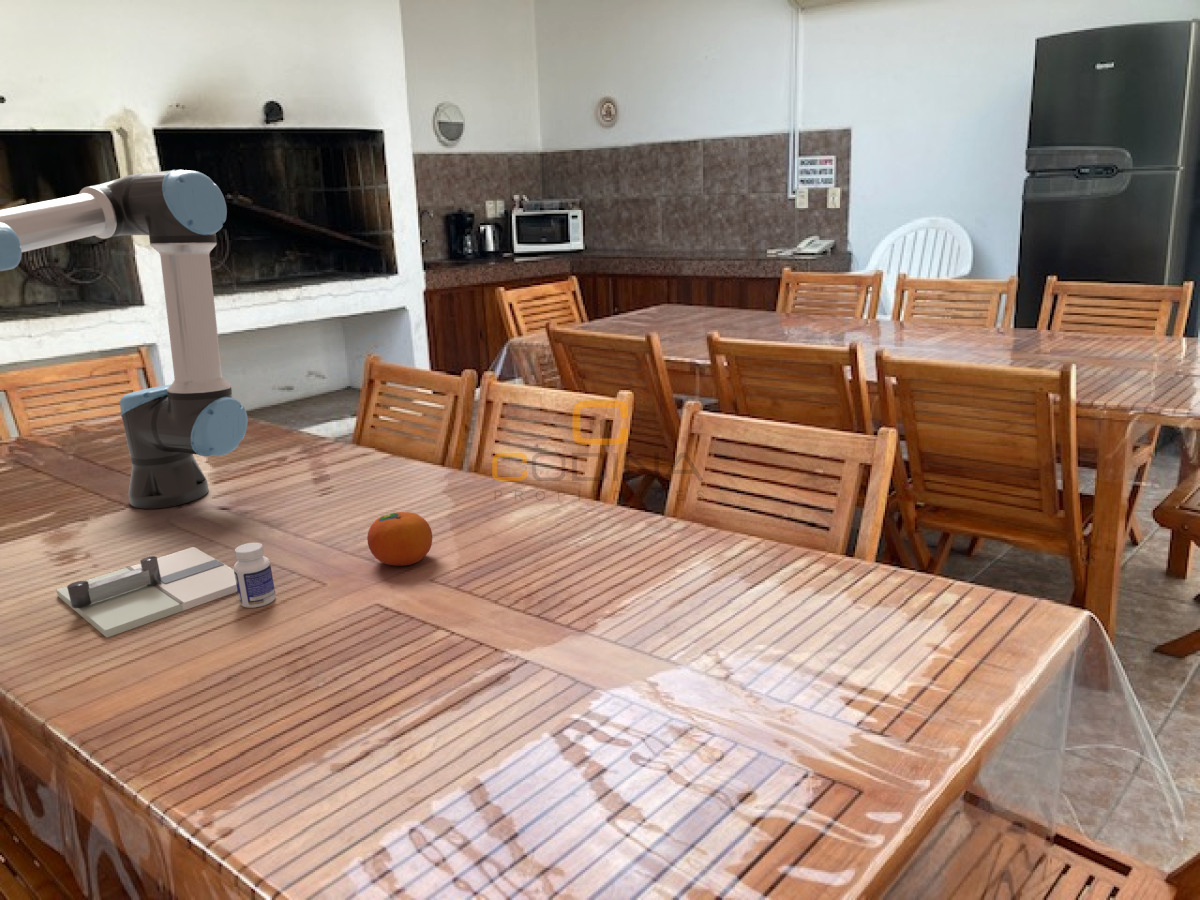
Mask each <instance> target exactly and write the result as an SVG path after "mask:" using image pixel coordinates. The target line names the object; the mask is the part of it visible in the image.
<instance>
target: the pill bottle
mask: <svg viewBox="0 0 1200 900" xmlns="http://www.w3.org/2000/svg"><path fill="white" fill-rule="evenodd" d="M264 553H265V552H264V547H263V544H262V543H260V542H248V543H243V544H241V545H239V546H237V547H236V548H235V549H234V554H235V558H236V562H235V563H234V564H233V569H234V574H235V579H236V585H237V590H238V591H237V596H238V601H239V605H241V606H242V607H244V608H248V609H249V608H252V609H254V608H259V607H264V606H266V605H268V604H271V603H272V602H273V601H274V600H275V599H276V596H277V595H276V588H275V582H274V579H273V571H272V565H271V562H270V559H269V558H268V557H267V556H264V555H265V554H264Z"/></svg>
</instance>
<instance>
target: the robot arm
mask: <svg viewBox="0 0 1200 900" xmlns="http://www.w3.org/2000/svg"><path fill="white" fill-rule="evenodd" d="M227 210H228V208H227V203H226V200H225V197H224V194H223V193H222V191H221V189H220V187H219V186H218V185H217V183H215V182H214V181H213V180H212V178H210V176H207V175H206V174H204V173H202V172H200V171H198V170H197V171H196V170H187V169H185V170H184V169H172V170H165V171H164V170H162V171H155V172H154V171H153V172H140V173H139V172H138V173H134V174H129V175H126V176H123V177H120V178H117V179H116V178H115V179H113V180H110V181H106V182H102V183H99V184H94V185H90V186H85V187H83V188H81V190H80V191H79V193H78V194H74V195H69V196H65V197H64V196H63V197H59V198H53V199H49V200H43V201H39V202H38V201H37V202H33V203H29V204H24V205H23V204H22V205H18V206H13V207H12V206H11V207H9V208H1V209H0V272H4V271H9V270H13V269H15V268H17V267H18V266H19V264H20V263H21V260H22V254H23V253H24V252H29V251H34V250H38V249H41V248H46V247H51V246H54V245H59V244H63V243H67V242H72V241H77V240H80V239H85V238H89V237H93V236H95V237H96V238H99V239H109V238H114V237H120V236H148V237H149V245H150V246H151V247H152V248H153V249H154V250H155V251H156V252H157V253H158V254H159V257H160V264H161V273H162V284H163V291H164V298H165V308H166V315H167V324H168V333H169V341H170V350H171V359H172V368H173V377H174V380H173V382H172V383H170V384H165V385H159V386H154V387H149V388H145V389H140V390H136V391H134V392H133V391H132V392H129V393H126V394H124V395H123V396H122V397H121V398H120V400H119V406H120V417H121V420H122V423H123V429H124V433H125V438H126V442H127V443H126V444H127V447H128V452H129V457H130V462H131V473H130V479H129V486H128V493H127V494H128V499H129V504H130V506H132V507H134V508H137V509H144V510H145V509H147V510H148V509H149V510H150V509H151V510H152V509H163V508H170V507H176V506H180V505H183V504H188V503H191V502H194V501H196V500H198V499H201V498H202V497H204V496H206V494H208V493H209V490H210V489H209V484H208V479H207V477H206V476H205V474H204V472H203V471H202V469H201V467H200V466H199V464H198V462H197V460H196V459H195V456H194V455H198V456H200V457H212V456H213V457H221V456H225V455H228V454H230V453H231V452H233V451H234V450H236V449H237V448H238V447H239V445H240V443H241V442H242V441H243V440H244V437H245V436H246V432H247V429H248V414H247V411H246V408H245V406H244V405H242V404H241V402H240V401H239V400H237V399H235V398H234V397H233V391H232V390H233V389H232V384H231V383H230V382H229V381H228V380H225V379H224V377H223V374H222V365H221V364H222V363H221V354H220V346H219V344H220V343H219V335H218V326H217V316H216V315H217V314H216V307H215V306H216V305H215V297H214V288H213V287H214V286H213V278H212V277H213V276H212V268H211V259H210V253H211V251H212V250H213V249H214V248H215V247H216V246H217V244H218V243H217V234H216V233H217V232H219V231H220V230H221V229H222V228H223V226H224V225H223V224H224V223H225V222H226V220H227V213H228V211H227Z"/></svg>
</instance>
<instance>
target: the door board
mask: <svg viewBox="0 0 1200 900" xmlns="http://www.w3.org/2000/svg"><path fill="white" fill-rule="evenodd" d="M157 561H158V566H159V571H160V575H161V580H162V581H161V583H159V584H157V585H153V586H143V587H140V588H137V589H134V590H131V591H128V592H125V593H122V594H119V595H116V596H113V597H110V598H107V599H104V600H101V601H98V602H95V603H92V604H90V605H88V606H86V607H82V608H73V607H72V606H71V601H70V597H69V593H68V588H67V586H68V585H66V586H63V587H60V588H56V594H57V597H58V598H60V600H61V601H63V603H65V604H66V605H68V606H69V607H70V608H71V609H72V610H74V611H75V612H76V613H77V614H78V615H79V616H80V617H82V618H83V619H84V620H85V621H86V622H88V623H89V624H90V625H91V626H93V628H94V629H96V630H97V632H99V633H100V634H102V635H103V636H104V637H105V638H110V637H113V636H115V635H119V634H121V633H124V632H128V631H130V630H133V629H135V628H139V627H141V626H144V625H147V624H150V623H152V622H155V621H159V620H161V619H164V618H166V617H170V616H172V615H175V614H178V613H181V612H183V611H187V610H189V609H192V608H195V607H197V606H200V605H203V604H206V603H209V602H211V601H215V600H217V599H220V598H223V597H226V596H228V595H231V594H235V593H238V590H237V585H236V579H235V574H234V568H233V567H230V566H228V565H227V564H225V563H223V562H222V561H220V560H218V559H216V558H214V557H212V556H211V555H209V554H207V553H205V552H203V551H202V550H200V549H198V548H197V547H195V546H192V547H188V548H185V549H182V550H178V551H175V552H173V553H169V554H166V555H163V556H160V557H159V556H158V557H157ZM138 568H141V562H140V563H137V564H134V565H131V566H130V565H129V566H126V567H124V568H121V569H118V570H115V571H111V572H108V573H105V574H101V575H99V576H96V577H92V578H90V579H86V580H84V581H88V584H90V583H93V582H97V581H100V580H103V579H106V578H109V577H112V576H116V575H119V574H122V573H125V572H128V571H132V570H135V569H138Z"/></svg>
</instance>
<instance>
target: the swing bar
mask: <svg viewBox="0 0 1200 900" xmlns="http://www.w3.org/2000/svg"><path fill="white" fill-rule="evenodd" d="M157 558H158V557H157V556H156V555H155V556H153V555H152V556H146V557H143V558H142V559H140V563H141V568H138V569H135V570H132V571H128V572H125V573H122V574H119V575H116V576H112V577H109V578H106V579H103V580H100V581H97V582H93V583H90V584H88V581H85V580H78V581H74V582H72V583H69V584H68V585H66V586H67V588H68V593H69V597H70V601H71V606H72V607H73V608H82V607H86V606H88V605H90V604H92V603H95V602H98V601H101V600H104V599H107V598H110V597H113V596H116V595H119V594H122V593H125V592H128V591H131V590H134V589H137V588H140V587H143V586H153V585H157V584H159V583H161V581H162V580H161V575H160V571H159V566H158V561H157Z"/></svg>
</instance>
